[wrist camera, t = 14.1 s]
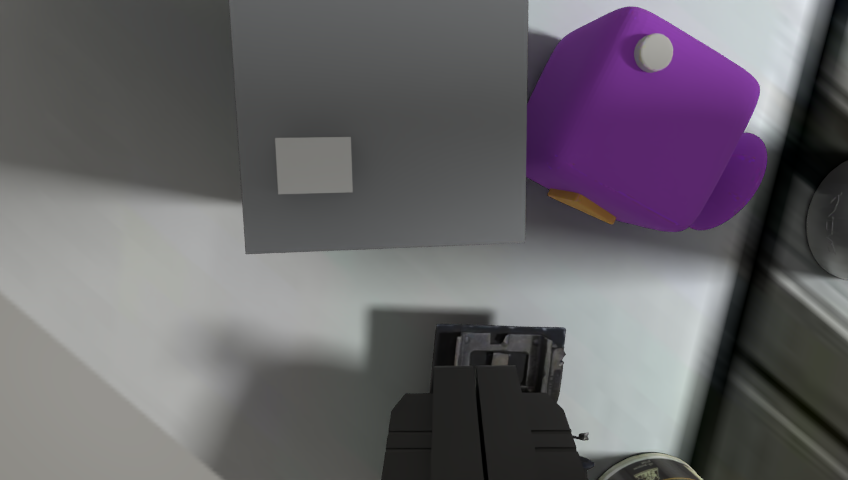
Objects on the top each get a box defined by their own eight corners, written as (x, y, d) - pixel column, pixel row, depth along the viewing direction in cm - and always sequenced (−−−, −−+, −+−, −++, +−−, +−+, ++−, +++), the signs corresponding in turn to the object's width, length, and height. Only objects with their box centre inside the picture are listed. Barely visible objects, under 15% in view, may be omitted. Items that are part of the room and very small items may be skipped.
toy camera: (670, 240, 40) (780, 269, 30) (488, 191, 37) (543, 205, 27) (719, 87, 38) (850, 65, 29) (533, 25, 36) (608, -21, 26)
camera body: (441, -40, 34) (541, -217, 18) (444, 203, 37) (534, 247, 20) (271, -45, 33) (207, -246, 16) (285, 208, 35) (240, 259, 19)
